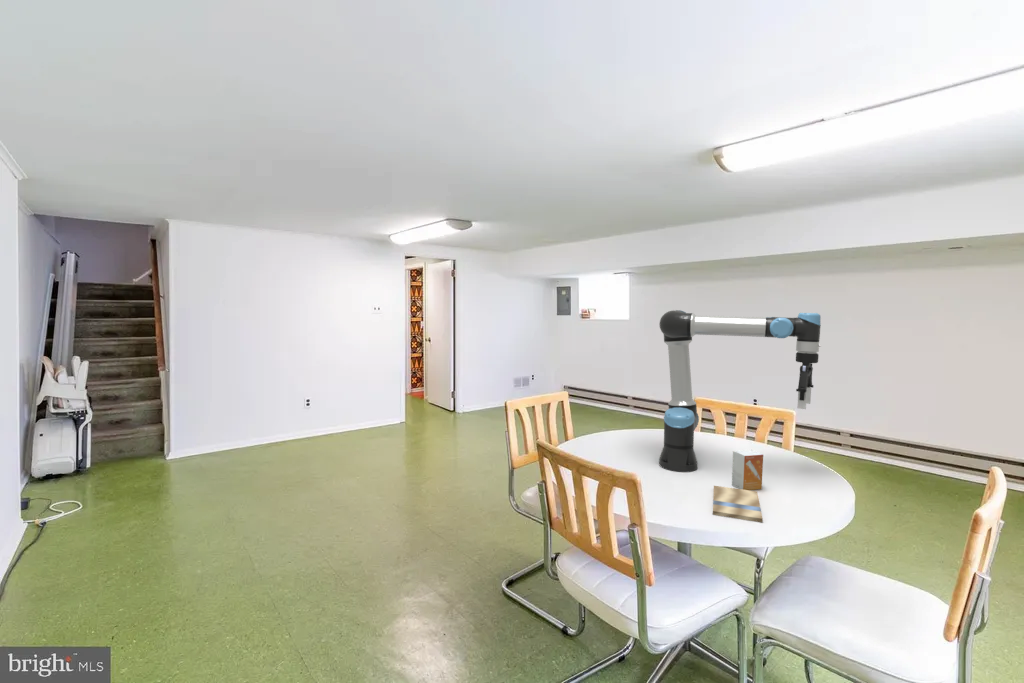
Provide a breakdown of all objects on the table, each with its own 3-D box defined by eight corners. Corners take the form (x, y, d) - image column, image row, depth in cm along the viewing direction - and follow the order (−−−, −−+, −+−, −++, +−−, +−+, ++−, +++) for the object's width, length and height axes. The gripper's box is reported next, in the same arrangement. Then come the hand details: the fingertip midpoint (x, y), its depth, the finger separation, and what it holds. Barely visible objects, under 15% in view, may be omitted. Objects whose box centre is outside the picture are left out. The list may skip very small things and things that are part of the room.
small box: (743, 491, 170) (744, 455, 169) (731, 485, 176) (732, 450, 175) (762, 489, 172) (763, 454, 171) (750, 483, 178) (751, 449, 177)
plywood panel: (712, 514, 151) (712, 510, 150) (713, 488, 172) (713, 485, 172) (762, 522, 145) (762, 518, 145) (757, 494, 167) (757, 491, 167)
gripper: (814, 355, 174) (811, 412, 175) (822, 351, 194) (818, 402, 195) (791, 353, 179) (788, 409, 180) (800, 349, 198) (797, 400, 200)
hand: (804, 406), depth 188 cm, fingers open, 13 cm apart
